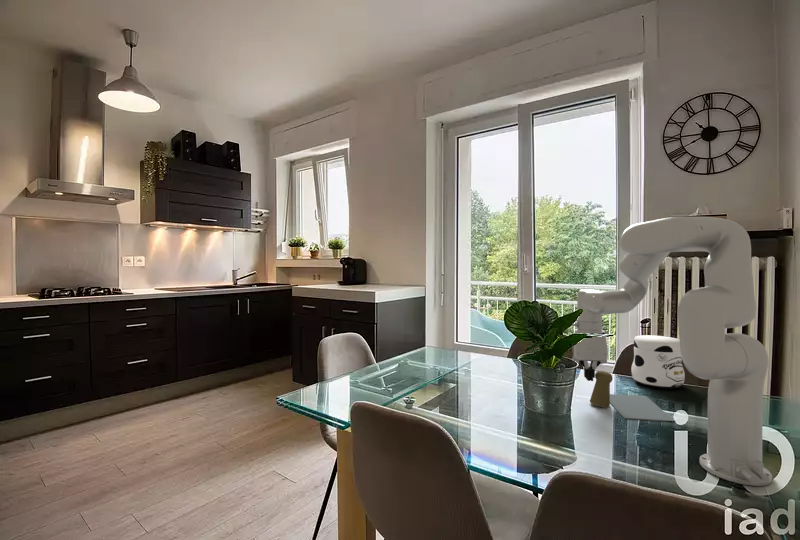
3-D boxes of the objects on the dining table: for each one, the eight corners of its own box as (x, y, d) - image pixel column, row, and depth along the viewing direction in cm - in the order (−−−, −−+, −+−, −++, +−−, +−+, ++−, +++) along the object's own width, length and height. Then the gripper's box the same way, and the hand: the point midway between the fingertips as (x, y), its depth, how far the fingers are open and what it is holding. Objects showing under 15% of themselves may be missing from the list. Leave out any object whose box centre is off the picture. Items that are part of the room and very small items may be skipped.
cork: (612, 408, 128) (617, 375, 127) (592, 405, 129) (597, 372, 129) (606, 402, 134) (611, 371, 133) (587, 399, 135) (592, 367, 134)
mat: (675, 422, 117) (675, 420, 117) (624, 418, 120) (624, 417, 120) (645, 397, 138) (645, 396, 138) (602, 394, 141) (602, 393, 141)
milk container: (687, 395, 140) (687, 345, 139) (631, 387, 149) (630, 340, 149) (682, 382, 155) (682, 336, 154) (631, 376, 164) (631, 333, 163)
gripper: (568, 327, 129) (568, 382, 130) (617, 328, 126) (617, 384, 127) (563, 323, 137) (563, 375, 137) (609, 324, 134) (609, 377, 134)
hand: (589, 379), depth 132 cm, fingers closed
